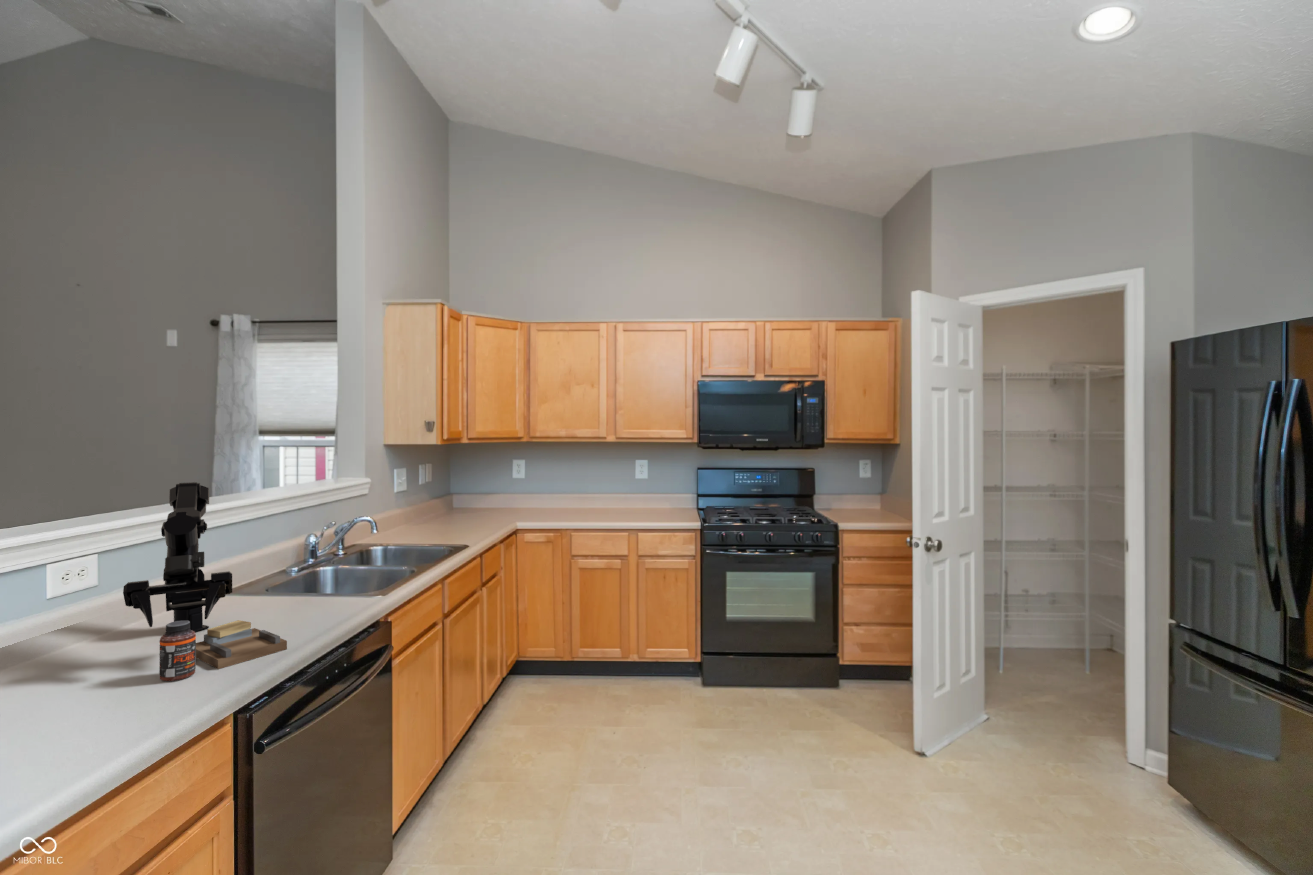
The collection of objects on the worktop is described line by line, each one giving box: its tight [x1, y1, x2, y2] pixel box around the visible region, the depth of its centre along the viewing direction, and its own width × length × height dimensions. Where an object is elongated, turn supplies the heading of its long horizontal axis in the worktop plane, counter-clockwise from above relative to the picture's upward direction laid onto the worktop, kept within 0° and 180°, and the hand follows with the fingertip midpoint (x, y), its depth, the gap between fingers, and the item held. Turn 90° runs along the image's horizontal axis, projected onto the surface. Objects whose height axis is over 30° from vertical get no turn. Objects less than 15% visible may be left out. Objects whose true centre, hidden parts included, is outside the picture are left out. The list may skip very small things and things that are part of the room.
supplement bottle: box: [158, 621, 197, 682], centre depth 124 cm, size 6×6×11 cm
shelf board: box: [196, 620, 288, 670], centre depth 139 cm, size 16×14×5 cm
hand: (178, 622), depth 127 cm, fingers open, 9 cm apart
